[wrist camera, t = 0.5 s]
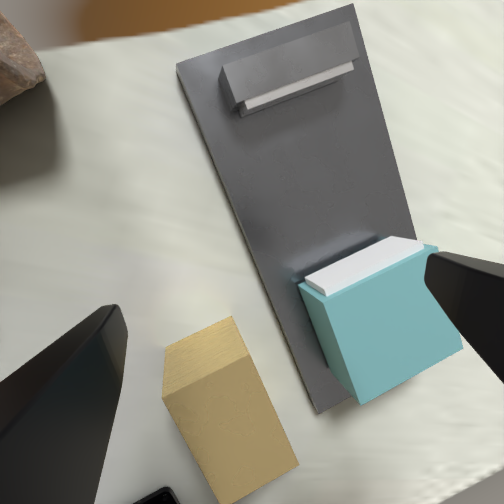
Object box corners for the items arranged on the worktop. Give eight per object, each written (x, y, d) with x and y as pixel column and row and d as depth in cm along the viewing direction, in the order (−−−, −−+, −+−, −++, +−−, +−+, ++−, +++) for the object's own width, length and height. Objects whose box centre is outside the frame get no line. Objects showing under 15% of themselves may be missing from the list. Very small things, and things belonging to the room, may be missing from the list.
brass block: (270, 403, 25) (299, 464, 19) (211, 434, 24) (222, 509, 18) (231, 315, 23) (249, 354, 17) (165, 346, 22) (161, 398, 16)
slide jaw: (419, 325, 25) (463, 348, 21) (331, 372, 24) (360, 405, 20) (392, 232, 23) (435, 238, 19) (295, 278, 22) (320, 295, 18)
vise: (435, 339, 27) (466, 355, 24) (313, 405, 25) (330, 432, 23) (345, 12, 21) (371, -18, 18) (175, 70, 19) (175, 47, 16)
